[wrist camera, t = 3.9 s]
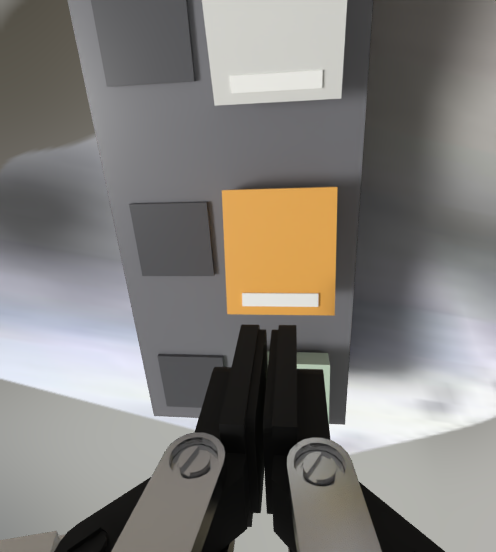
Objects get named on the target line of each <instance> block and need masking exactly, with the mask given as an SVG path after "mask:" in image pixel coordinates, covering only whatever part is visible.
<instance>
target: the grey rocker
mask: <svg viewBox="0 0 496 552" xmlns="http://www.w3.org/2000/svg"><path fill="white" fill-rule="evenodd" d="M202 6H203V14H204V22H205V31H206V39H207V47H208V55H209V63H210V72H211V80H212V88H213V96H214V105H215V106H217V105H235V104H253V103H271V102H288V101H306V100H324V99H341V94H342V78H343V61H344V45H345V29H346V12H347V0H202Z"/></svg>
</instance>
